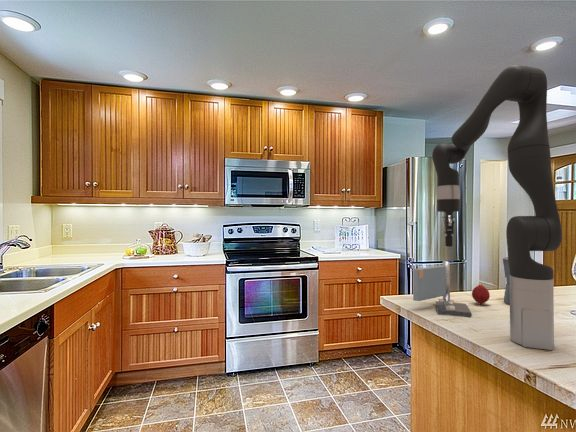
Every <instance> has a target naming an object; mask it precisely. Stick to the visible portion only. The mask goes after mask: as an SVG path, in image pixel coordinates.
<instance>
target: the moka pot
mask: <svg viewBox="0 0 576 432" xmlns="http://www.w3.org/2000/svg"><path fill="white" fill-rule="evenodd" d="M502 263H503V269H504V270H503V272H504V277H505V278H506V279H505V280H506V283H505V289H504V296H503V302H504V304H507V305H509V306H510V269H509V264H508V256H505V257H503V258H502Z"/></svg>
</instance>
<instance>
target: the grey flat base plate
mask: <svg viewBox="0 0 576 432" xmlns="http://www.w3.org/2000/svg"><path fill="white" fill-rule="evenodd" d="M435 307H436V310H437V311H436V312H437V314H438V315H444V316H452V317H453V316H455V317H467V318H472V311H471V310H470V308H469V306H468V305H467V303H462V302H454V303H452V301H444V302H440V301H439V300H438V301H437V300H435Z"/></svg>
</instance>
